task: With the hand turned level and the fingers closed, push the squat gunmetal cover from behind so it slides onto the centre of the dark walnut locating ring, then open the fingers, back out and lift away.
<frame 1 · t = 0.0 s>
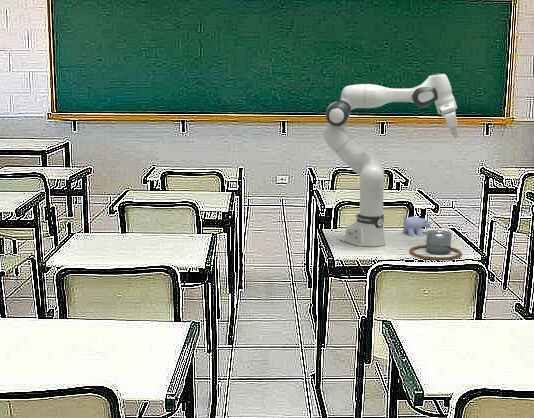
hand: (455, 136, 347), 52 cm above the table, tool tilted 20°, fingers open, 8 cm apart
metal cover: (438, 251, 348), resting in locating ring
locating ring: (435, 253, 345), on the table
hippopotamus toy: (415, 234, 382), on the table
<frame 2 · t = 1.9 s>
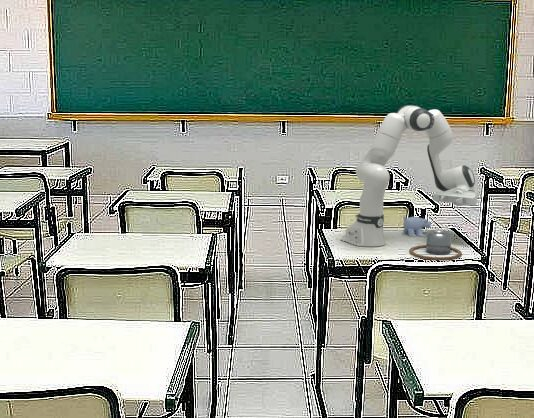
hand: (448, 200, 352), 22 cm above the table, tool horizontal, fingers open, 5 cm apart
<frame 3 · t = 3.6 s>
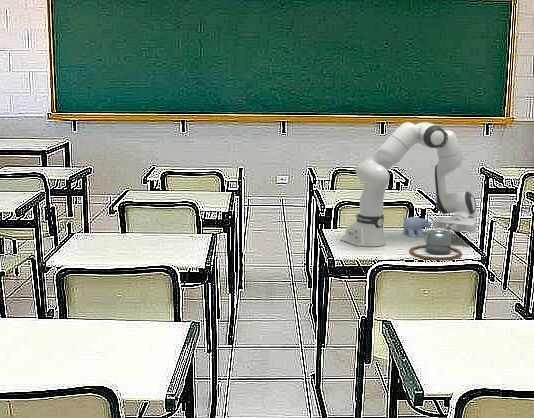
hand: (448, 228, 355), 9 cm above the table, tool horizontal, fingers closed
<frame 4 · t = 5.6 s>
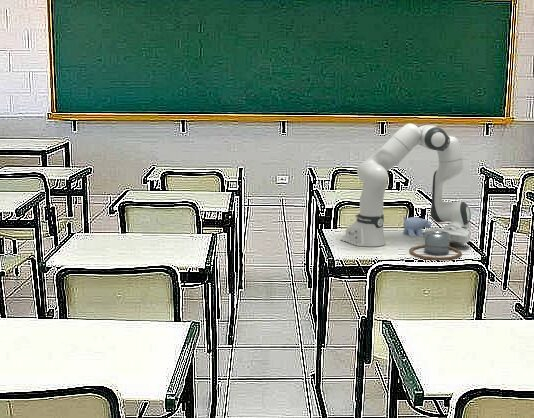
hand: (441, 238, 350), 5 cm above the table, tool horizontal, fingers closed, pressing on metal cover
metal cover: (436, 252, 346), resting in locating ring, touching gripper
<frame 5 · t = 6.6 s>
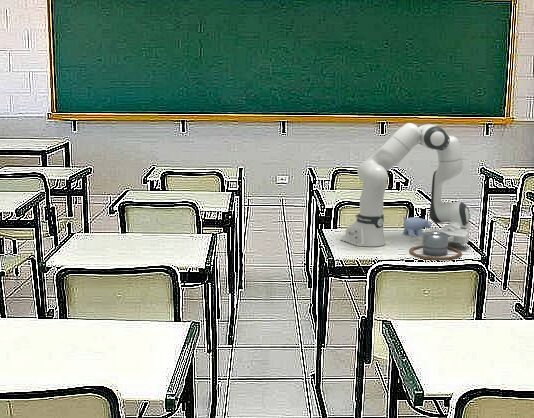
hand: (440, 239, 348), 5 cm above the table, tool horizontal, fingers open, 5 cm apart
metal cover: (434, 253, 345), resting in locating ring
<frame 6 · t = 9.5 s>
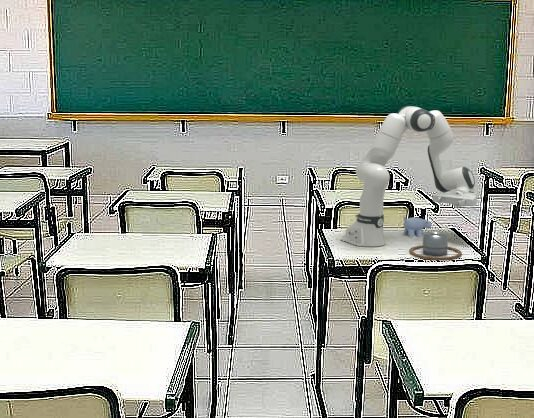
hand: (448, 202, 352), 22 cm above the table, tool horizontal, fingers open, 8 cm apart
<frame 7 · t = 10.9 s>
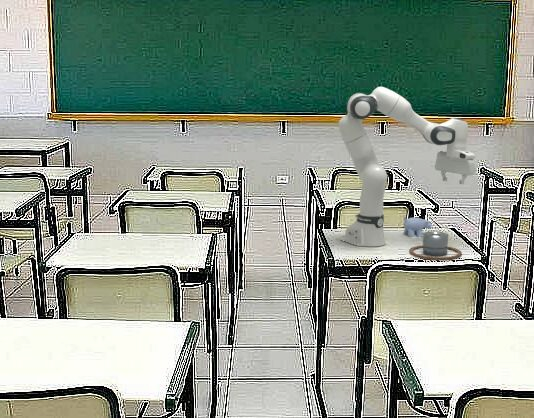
hand: (453, 182, 356), 30 cm above the table, tool pointing down, fingers open, 8 cm apart
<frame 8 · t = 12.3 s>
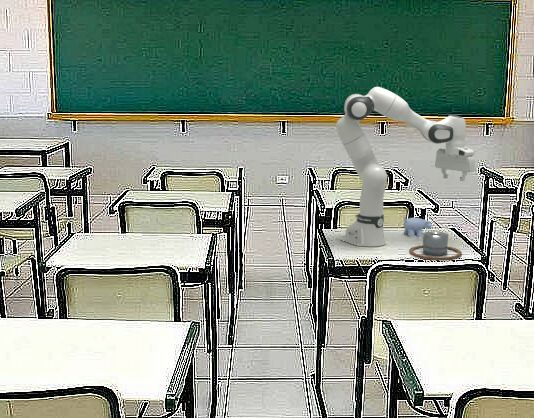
hand: (453, 179, 356), 31 cm above the table, tool pointing down, fingers open, 8 cm apart
at the end: metal cover 0.2 cm from the locating ring (horizontally); metal cover tilted 1°; metal cover moved 3.7 cm from its start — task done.
